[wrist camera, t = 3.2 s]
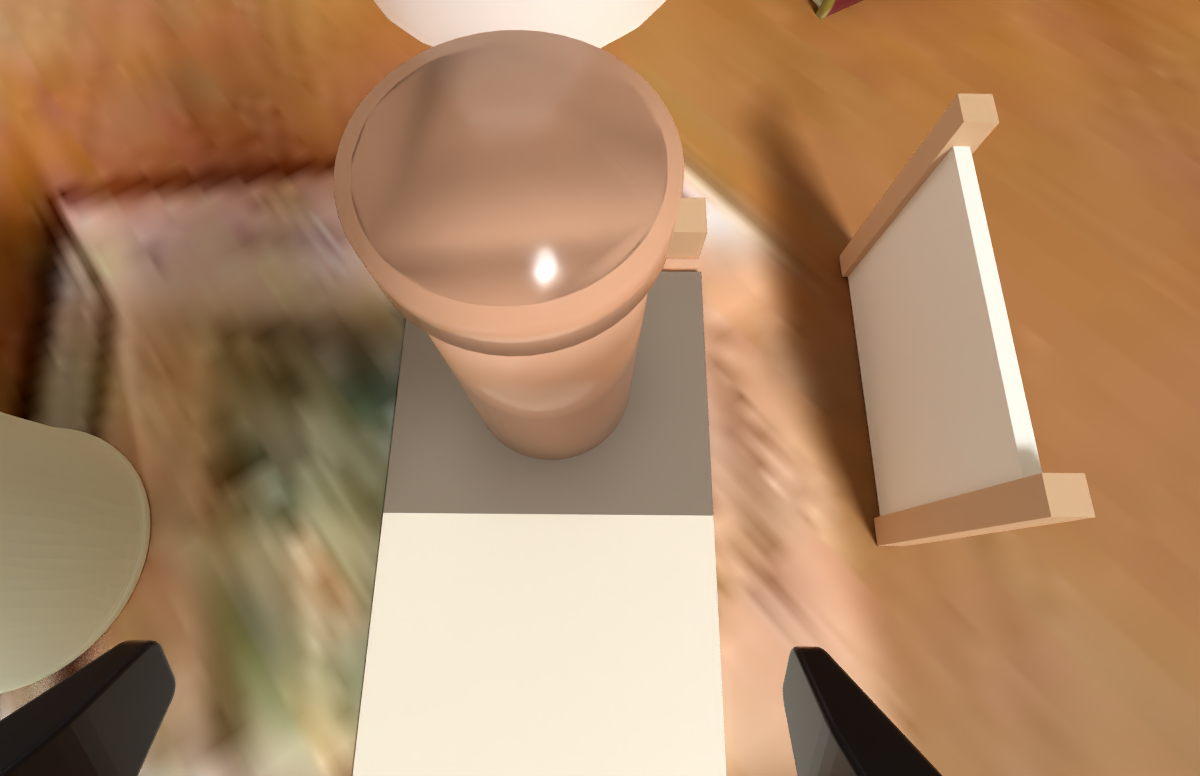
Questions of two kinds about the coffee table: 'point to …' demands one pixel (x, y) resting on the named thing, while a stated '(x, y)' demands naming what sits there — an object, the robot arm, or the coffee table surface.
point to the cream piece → (675, 507)
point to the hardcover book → (832, 6)
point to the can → (63, 545)
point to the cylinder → (518, 17)
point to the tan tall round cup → (518, 222)
